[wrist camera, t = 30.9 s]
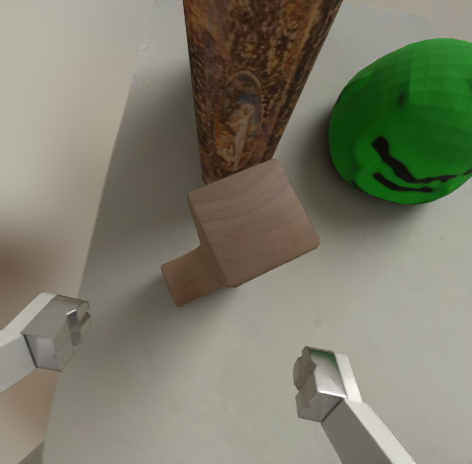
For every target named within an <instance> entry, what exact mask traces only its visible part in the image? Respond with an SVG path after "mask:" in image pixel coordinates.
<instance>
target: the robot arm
mask: <svg viewBox="0 0 472 464" xmlns="http://www.w3.org/2000/svg"><path fill="white" fill-rule="evenodd" d="M88 309H89V303H88V301H84V300H79V299H74V298H70V297H66V296H61V295H57V294H52V293H47V292H42V293H41V294H39V295H37V296H36V297H35V298H34V299H33V300H32V301H31V302H30V303H29V304H28V305H27V306H26V307H25V308H24V309H23V310H22V311H21V312H20V313H19V314H18V315H17V316H16V317H15V318H14V319H13V320H12V321H11V322H10V323H9V324H7V326H6V327H5V328H3V329H2V330H0V394H1V393H2V392H4V391H5V390H7V389H8V388H9V387H11V386H12V385H14V384H15V383H17V382H18V381H19V380H21V379H22V378H24V377H25V376H27V375H28V374H30V373H31V372H33V371H34V370H36V368H43V369H48V370H55V371H61V372H62V371H63V369H64V368H65V367H66V365H67V364H68V362H69V361H70V359H71V358H72V356H73V355H74V346H76V345H78V344H79V343H81V342H82V341H83V340H84V338H85V337H86V335H87V333H88V331H89V328H90V325H91V316H90V315H89V314H88V313H87V311H88ZM293 379H294V385H295V386H296V388H297V389H298V391H299V392H298V394H297V395H296V405H297V414H298V418H303V419H307V420H312V421H316V422H321V426H322V427H323V429H324V431H325V433H326V435H327V436H328V438H329V440H330V442H331V444H332V445H333V447H334V449H335V451H336V453H337V454H338V456H339V458H340V460H341V462H342V463H343V464H416V462H415V461H414V460H413V459H412V458H411V456H410V455H409V454H408V453H407V451H406V450H405V449H404V448H403V447H402V445H401V444H400V443H399V442H398V440H397V439H396V438H395V437H394V436H393V434H392V433H391V432H390V431H389V429H388V428H387V427H386V426H385V425H384V423H383V422H382V421H381V420H380V418H379V417H378V416H377V415H376V414H375V412H374V411H373V410H372V409H371V407H370V406H369V405H368V404H367V403H365V402H363V401H362V398H361V395H360V392H359V389H358V386H357V383H356V380H355V377H354V374H353V371H352V368H351V365H350V362H349V359H348V357H347V355H346V354H343V353H337V352H332V351H329V350H324V349H319V348H313V347H308V346H306V347H304V348H303V350H302V356H301V357H299V358H297V360H296V362H295V365H294V370H293Z"/></svg>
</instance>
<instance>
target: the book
mask: <svg viewBox="0 0 472 464" xmlns="http://www.w3.org/2000/svg"><path fill="white" fill-rule="evenodd" d="M342 1H343V0H183V6H184V15H185V24H186V34H187V43H188V52H189V61H190V70H191V79H192V89H193V98H194V107H195V116H196V125H197V134H198V144H199V153H200V162H201V171H202V179H203V181H204V182H205V184H206V185H208V184H210V183H213V182H215V181H218V180H220V179H223V178H226V177H228V176H231V175H233V174H236V173H238V172H241V171H243V170H246V169H248V168H251V167H253V166H256V165H258V164H261V163H263V162H266V161H268V160H271V159H272V157H273V154H274V152H275V150H276V148H277V146H278V143H279V141H280V139H281V137H282V135H283V132H284V130H285V128H286V126H287V123H288V121H289V119H290V117H291V115H292V112H293V110H294V108H295V106H296V103H297V101H298V99H299V97H300V95H301V92H302V90H303V88H304V86H305V83H306V81H307V79H308V77H309V75H310V72H311V70H312V68H313V66H314V63H315V61H316V59H317V57H318V55H319V52H320V50H321V48H322V46H323V44H324V41H325V39H326V37H327V35H328V32H329V30H330V28H331V26H332V24H333V21H334V19H335V17H336V15H337V12H338V10H339V8H340V6H341V4H342Z"/></svg>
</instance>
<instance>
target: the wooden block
mask: <svg viewBox="0 0 472 464" xmlns="http://www.w3.org/2000/svg"><path fill="white" fill-rule="evenodd" d="M188 203H189V206H190V210H191V213H192V216H193V220H194V223H195V226H196V230H197V233H198V236H199V240H200V243H201V245H200V246H199V247H198V248H196V249H195V250H193V251H191V252H189V253H187V254H185V255H183V256H182V257H179V258H177V259H175V260H173V261H170V262H168V263H166V264H163V265H162V266H161V270H162V273H163V275H164V278H165V280H166V282H167V285H168V287H169V290H170V292H171V295H172V297H173V300H174V302H175V304H176V306H177V307H181V306H184V305H186V304H188V303H190V302H192V301H194V300H196V299H198V298H200V297H203V296H205V295H207V294H209V293H211V292H213V291H216V290H218V289H220V288H222V287H226V288H232V287H237V286H239V285H241V284H243V283H245V282H247V281H250V280H252V279H254V278H256V277H258V276H260V275H262V274H264V273H266V272H268V271H270V270H272V269H275V268H277V267H279V266H281V265H283V264H285V263H287V262H289V261H291V260H293V259H295V258H298V257H300V256H302V255H304V254H306V253H308V252H310V251H312V250H314V249H316V248H317V247H318V246H319V245H320V239H319V237H318V235H317V233H316V231H315V229H314V227H313V226H312V224H311V222H310V220H309V218H308V216H307V214H306V212H305V210H304V208H303V207H302V205H301V203H300V201H299V199H298V197H297V195H296V193H295V191H294V190H293V188H292V186H291V184H290V182H289V180H288V178H287V176H286V174H285V172H284V171H283V169H282V167H281V165H280V163H279V161H278V160H277V159H271V160H268V161H266V162H263V163H261V164H258V165H256V166H253V167H251V168H248V169H246V170H243V171H241V172H238V173H236V174H233V175H231V176H228V177H226V178H223V179H220V180H218V181H215V182H213V183H210V184H208V185H205V186H203V187H200V188H198V189H195V190H193V191H191V192H190V193H189V194H188Z"/></svg>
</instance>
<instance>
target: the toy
mask: <svg viewBox="0 0 472 464" xmlns="http://www.w3.org/2000/svg"><path fill="white" fill-rule="evenodd" d="M328 137H329V148H330V155H331V158H332V161H333V165H334V166H335V168H336V169H337V171H338V172H339V174H340V175H341V176H342V178H343V179H345V180H346V181H347V182H348V183H350V184H351V185H352V186H353V187H355V188H357V189H359V190H361V191H363V192H365V193H367V194H370V195H373V196H376V197H379V198H382V199H385V200H389V201H393V202H397V203H401V204H423V203H429V202H432V201H435V200H437V199H439V198H442V197H444V196H446V195H448V194H450V193H452V192H453V191H454V190H456V189H457V188H459V187H460V186H461V185H462V184H463V183H465V182H466V181H467V180H468V179H469V178H470V177H471V176H472V43H470V42H466V41H462V40H457V39H451V38H450V39H448V38H437V39H430V40H424V41H420V42H416V43H412V44H409V45H407V46H405V47H403V48H401V49H398V50H396V51H394V52H392V53H389V54H387V55H385V56H383V57H382V58H380V59H378V60H376V61H375V62H373V63H372V64H370V65H369V66H367V67H366V68H364V69H363V70H361V71H360V72H358V73H357V74H356V75H355V76H354V77H353V78H352V79H351V80H350V81H349V82H348V84H347V85H346V86H345V87H344V89H343V90H342V92H341V94H340V95H339V97H338V99H337V101H336V103H335V105H334V107H333V110H332V113H331V117H330V121H329V130H328Z"/></svg>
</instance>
